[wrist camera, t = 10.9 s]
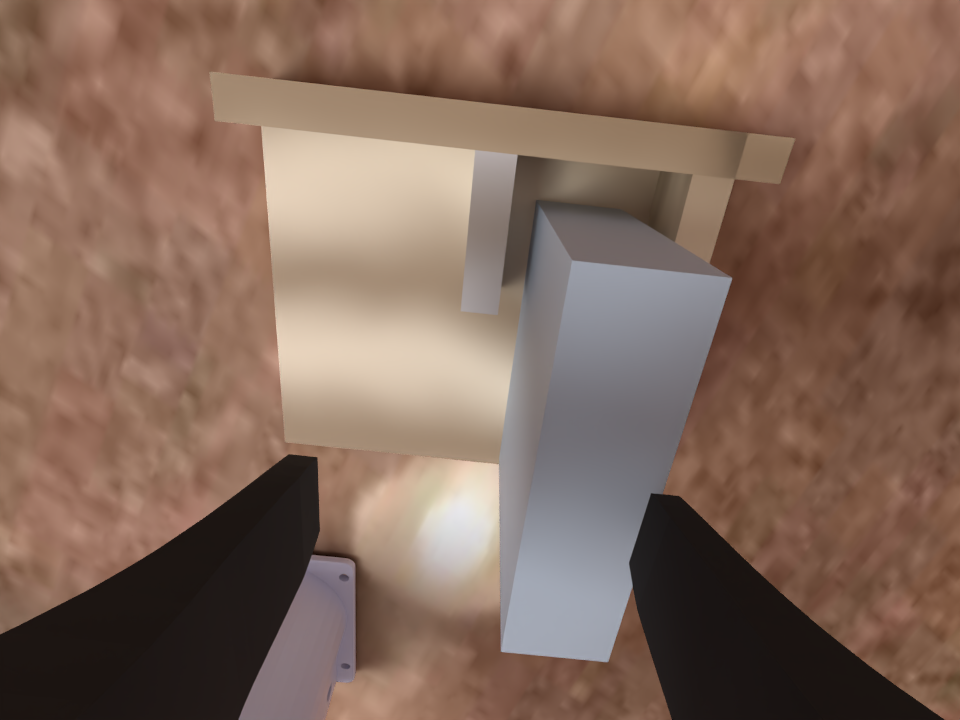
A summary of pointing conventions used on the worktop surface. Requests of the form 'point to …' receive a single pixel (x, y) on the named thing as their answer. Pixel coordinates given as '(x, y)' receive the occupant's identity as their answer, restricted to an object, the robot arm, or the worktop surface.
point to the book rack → (443, 243)
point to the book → (593, 418)
